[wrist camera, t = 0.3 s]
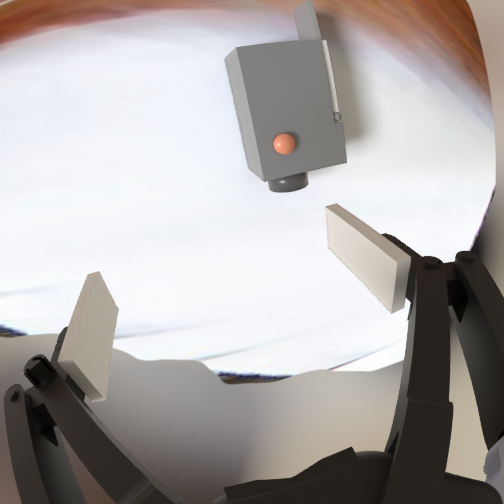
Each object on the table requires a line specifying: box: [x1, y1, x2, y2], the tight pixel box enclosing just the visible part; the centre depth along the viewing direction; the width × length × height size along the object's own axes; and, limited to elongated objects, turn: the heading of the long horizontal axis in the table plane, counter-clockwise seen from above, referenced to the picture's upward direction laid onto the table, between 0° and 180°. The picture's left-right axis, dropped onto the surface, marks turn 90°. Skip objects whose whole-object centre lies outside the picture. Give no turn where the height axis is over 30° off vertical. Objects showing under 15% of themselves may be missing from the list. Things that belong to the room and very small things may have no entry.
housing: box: [225, 40, 347, 192], centre depth 35 cm, size 19×11×9 cm, turn 11°
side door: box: [292, 0, 341, 121], centre depth 32 cm, size 16×1×8 cm, turn 11°
